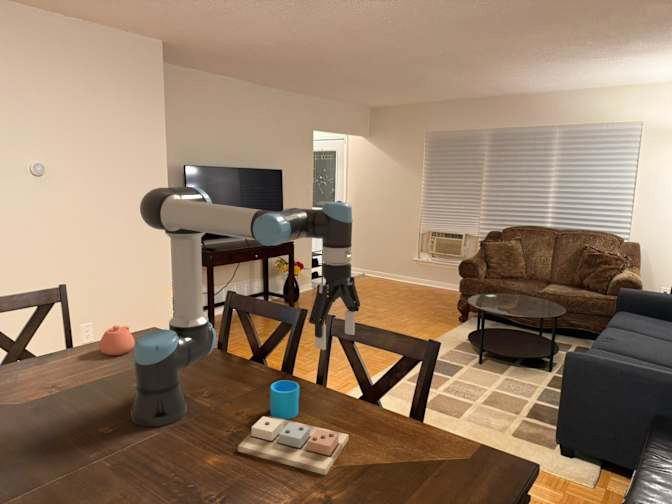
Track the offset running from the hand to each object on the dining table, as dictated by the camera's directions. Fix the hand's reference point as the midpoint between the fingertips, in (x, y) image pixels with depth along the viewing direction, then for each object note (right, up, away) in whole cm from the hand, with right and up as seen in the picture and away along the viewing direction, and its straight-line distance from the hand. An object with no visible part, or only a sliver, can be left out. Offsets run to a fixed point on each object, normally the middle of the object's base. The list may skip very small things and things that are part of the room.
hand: (335, 341), depth 125 cm
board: (-11, -27, -3) cm, 29 cm away
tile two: (-11, -25, -3) cm, 27 cm away
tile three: (-3, -25, -6) cm, 26 cm away
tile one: (-18, -24, 0) cm, 30 cm away
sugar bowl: (-84, -15, +57) cm, 102 cm away
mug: (-14, -24, +15) cm, 32 cm away
